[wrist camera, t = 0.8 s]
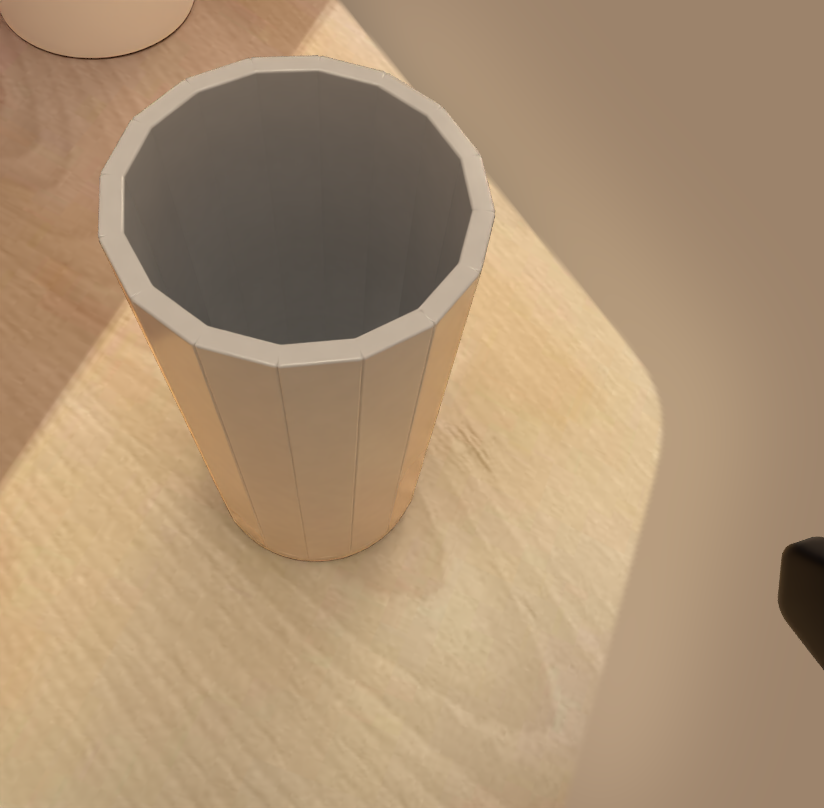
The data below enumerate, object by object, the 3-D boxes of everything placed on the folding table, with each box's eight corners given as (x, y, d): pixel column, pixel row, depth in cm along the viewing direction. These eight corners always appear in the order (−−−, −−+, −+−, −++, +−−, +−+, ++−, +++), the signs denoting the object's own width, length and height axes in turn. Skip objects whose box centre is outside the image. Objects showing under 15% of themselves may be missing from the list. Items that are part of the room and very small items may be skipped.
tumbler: (453, 499, 24) (567, 261, 12) (275, 601, 22) (202, 437, 10) (356, 347, 26) (372, 15, 14) (185, 428, 24) (38, 125, 12)
